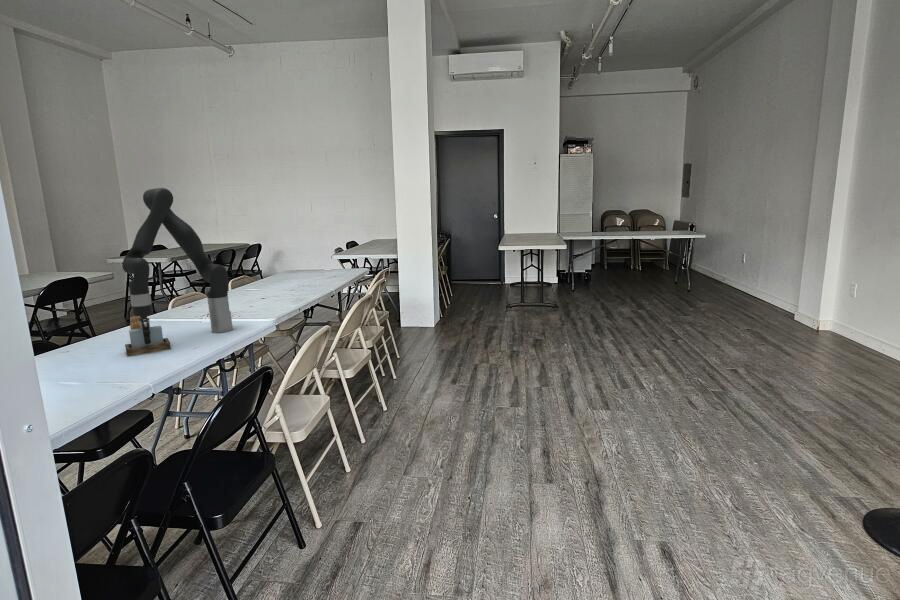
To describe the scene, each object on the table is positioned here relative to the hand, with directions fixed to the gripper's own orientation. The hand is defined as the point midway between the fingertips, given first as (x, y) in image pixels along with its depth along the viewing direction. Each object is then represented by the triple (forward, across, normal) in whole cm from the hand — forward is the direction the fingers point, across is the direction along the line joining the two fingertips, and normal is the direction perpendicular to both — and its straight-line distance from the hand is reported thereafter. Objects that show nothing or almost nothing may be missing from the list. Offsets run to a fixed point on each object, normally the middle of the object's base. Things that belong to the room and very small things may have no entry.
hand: (147, 342), depth 221 cm
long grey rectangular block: (+1, 0, 0) cm, 1 cm away
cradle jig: (+4, 0, 0) cm, 4 cm away
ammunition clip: (+4, +26, +1) cm, 26 cm away
